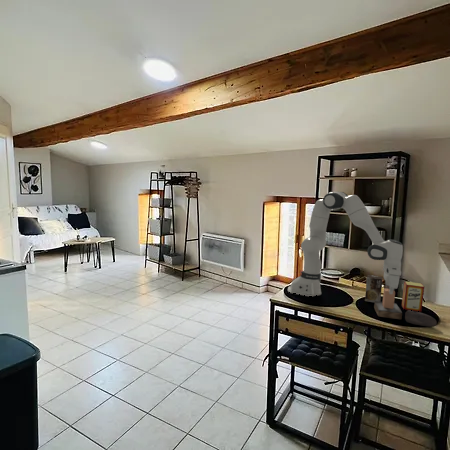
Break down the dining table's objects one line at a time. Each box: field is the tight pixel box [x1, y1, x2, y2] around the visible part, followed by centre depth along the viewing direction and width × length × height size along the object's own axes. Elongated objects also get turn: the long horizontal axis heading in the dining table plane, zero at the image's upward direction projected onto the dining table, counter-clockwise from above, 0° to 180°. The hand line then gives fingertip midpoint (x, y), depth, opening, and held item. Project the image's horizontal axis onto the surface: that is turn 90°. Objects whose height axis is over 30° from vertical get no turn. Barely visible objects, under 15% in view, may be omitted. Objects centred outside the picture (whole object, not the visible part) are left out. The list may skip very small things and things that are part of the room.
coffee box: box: [364, 274, 384, 303], centre depth 209 cm, size 9×6×16 cm
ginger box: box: [401, 281, 425, 313], centre depth 198 cm, size 10×6×16 cm
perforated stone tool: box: [404, 310, 438, 328], centre depth 176 cm, size 15×5×7 cm, turn 61°
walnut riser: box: [373, 301, 403, 320], centre depth 190 cm, size 12×14×4 cm
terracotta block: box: [381, 287, 396, 309], centre depth 189 cm, size 5×5×10 cm
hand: (388, 291), depth 189 cm, fingers open, 8 cm apart
